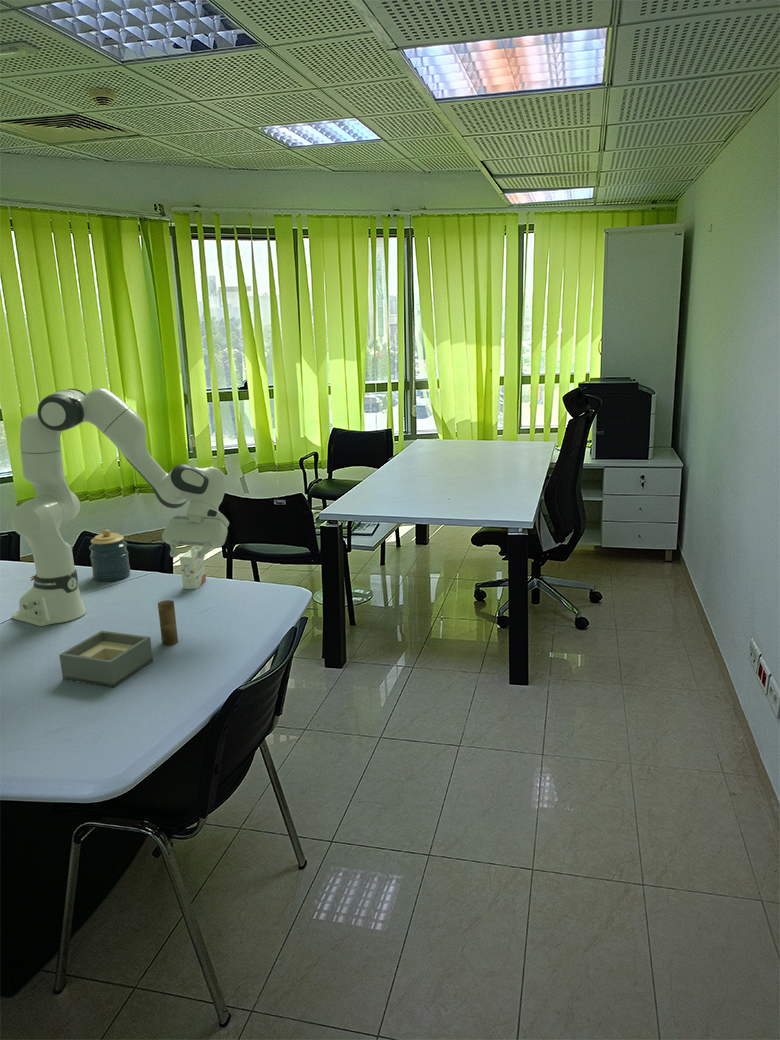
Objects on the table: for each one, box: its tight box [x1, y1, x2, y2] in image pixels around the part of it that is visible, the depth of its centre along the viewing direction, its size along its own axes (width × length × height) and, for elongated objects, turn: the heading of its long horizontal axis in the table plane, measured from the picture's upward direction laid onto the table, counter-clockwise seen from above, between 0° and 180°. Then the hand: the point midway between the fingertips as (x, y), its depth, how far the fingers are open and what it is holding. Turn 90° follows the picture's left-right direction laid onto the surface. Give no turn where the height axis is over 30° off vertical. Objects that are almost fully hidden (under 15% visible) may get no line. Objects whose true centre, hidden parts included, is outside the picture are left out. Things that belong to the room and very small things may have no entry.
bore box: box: [58, 630, 154, 689], centre depth 200 cm, size 16×16×7 cm
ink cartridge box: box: [179, 546, 207, 590], centre depth 262 cm, size 9×5×15 cm, turn 168°
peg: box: [157, 599, 179, 646], centre depth 216 cm, size 4×4×12 cm
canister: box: [88, 529, 131, 583], centre depth 273 cm, size 13×13×18 cm
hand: (186, 557), depth 224 cm, fingers open, 8 cm apart
